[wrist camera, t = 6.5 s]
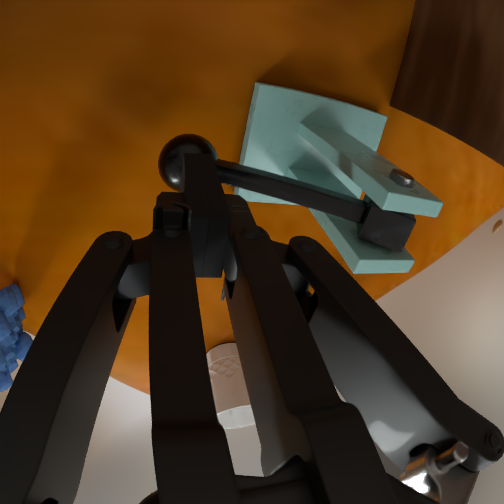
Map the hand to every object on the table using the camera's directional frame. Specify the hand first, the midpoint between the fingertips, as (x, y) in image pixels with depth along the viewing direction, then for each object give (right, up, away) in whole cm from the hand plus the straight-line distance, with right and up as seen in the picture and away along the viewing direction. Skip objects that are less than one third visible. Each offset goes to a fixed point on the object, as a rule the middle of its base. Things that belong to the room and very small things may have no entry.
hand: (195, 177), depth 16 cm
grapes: (-24, -10, +13) cm, 29 cm away
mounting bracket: (+8, +5, +10) cm, 14 cm away
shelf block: (+23, +15, +6) cm, 28 cm away
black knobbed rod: (+5, +1, +3) cm, 6 cm away
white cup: (0, -19, +26) cm, 32 cm away
